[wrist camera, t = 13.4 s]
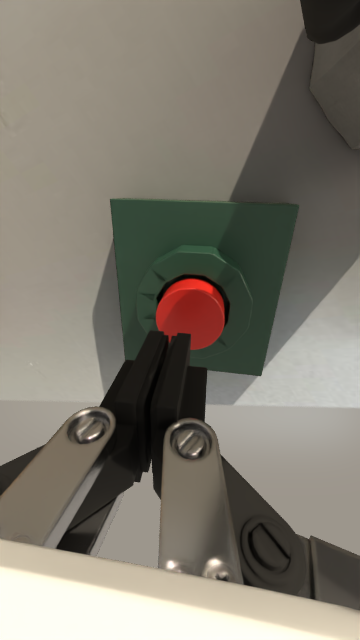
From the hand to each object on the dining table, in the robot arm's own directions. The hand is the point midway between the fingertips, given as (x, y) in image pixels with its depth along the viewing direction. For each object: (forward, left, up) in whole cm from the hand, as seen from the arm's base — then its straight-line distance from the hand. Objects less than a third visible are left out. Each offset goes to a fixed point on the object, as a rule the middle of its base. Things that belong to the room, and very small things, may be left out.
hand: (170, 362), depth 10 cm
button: (0, 0, -5) cm, 5 cm away
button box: (0, 0, -9) cm, 9 cm away
